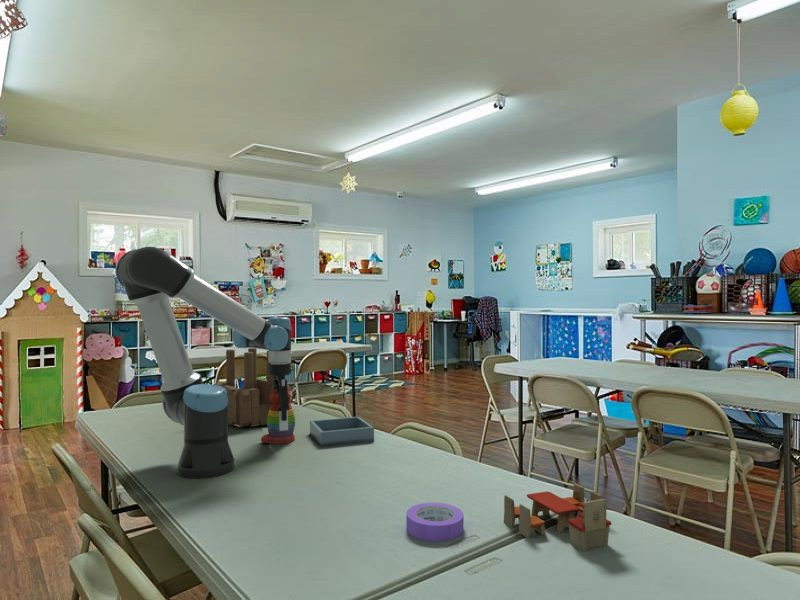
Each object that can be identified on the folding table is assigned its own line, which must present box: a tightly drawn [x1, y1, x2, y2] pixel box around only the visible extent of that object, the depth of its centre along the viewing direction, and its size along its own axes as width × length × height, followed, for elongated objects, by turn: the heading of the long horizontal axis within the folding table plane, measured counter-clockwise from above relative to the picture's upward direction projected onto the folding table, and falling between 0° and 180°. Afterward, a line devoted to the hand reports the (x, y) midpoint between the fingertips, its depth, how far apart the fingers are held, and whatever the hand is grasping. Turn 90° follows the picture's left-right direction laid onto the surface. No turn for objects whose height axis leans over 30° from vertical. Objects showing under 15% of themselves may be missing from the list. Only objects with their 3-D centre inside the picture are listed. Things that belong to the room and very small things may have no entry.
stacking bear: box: [260, 387, 296, 445], centre depth 182 cm, size 11×10×18 cm
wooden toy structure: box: [212, 348, 292, 428], centre depth 217 cm, size 23×30×27 cm
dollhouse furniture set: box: [503, 482, 612, 552], centre depth 109 cm, size 19×19×10 cm
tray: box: [309, 416, 375, 447], centre depth 185 cm, size 18×18×4 cm
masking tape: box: [405, 502, 465, 542], centre depth 110 cm, size 12×12×4 cm
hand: (280, 425), depth 182 cm, fingers open, 13 cm apart
